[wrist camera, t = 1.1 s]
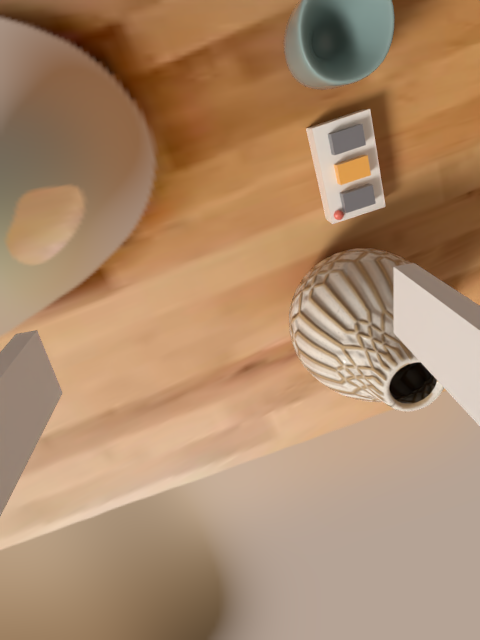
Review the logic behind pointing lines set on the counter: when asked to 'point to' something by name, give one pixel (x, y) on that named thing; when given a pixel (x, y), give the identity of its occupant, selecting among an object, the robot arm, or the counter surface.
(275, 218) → the counter surface
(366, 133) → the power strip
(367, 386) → the vase
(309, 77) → the cup
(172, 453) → the counter surface
